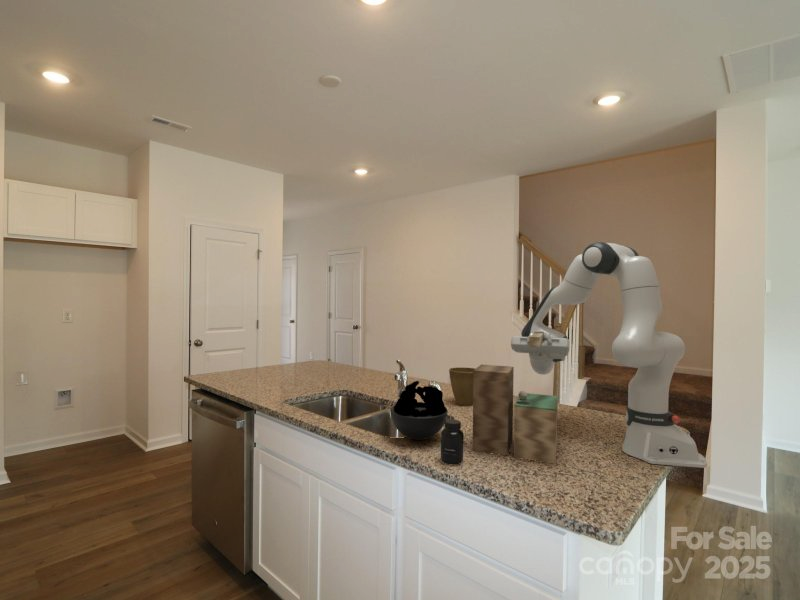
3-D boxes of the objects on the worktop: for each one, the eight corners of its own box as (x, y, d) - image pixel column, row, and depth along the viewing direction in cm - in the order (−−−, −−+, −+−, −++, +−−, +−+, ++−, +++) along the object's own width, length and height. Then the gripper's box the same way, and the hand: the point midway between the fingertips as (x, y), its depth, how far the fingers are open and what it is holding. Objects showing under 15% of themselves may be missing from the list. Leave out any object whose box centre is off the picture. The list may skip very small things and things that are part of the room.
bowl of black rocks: (439, 451, 132) (440, 393, 132) (381, 444, 139) (382, 388, 139) (452, 432, 151) (453, 381, 151) (400, 426, 158) (401, 377, 158)
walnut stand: (512, 442, 141) (513, 366, 141) (507, 456, 129) (508, 373, 129) (480, 438, 145) (481, 364, 145) (472, 451, 133) (473, 370, 133)
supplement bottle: (445, 466, 121) (445, 425, 121) (437, 457, 127) (437, 418, 127) (467, 464, 123) (467, 423, 123) (457, 455, 129) (458, 417, 129)
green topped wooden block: (556, 444, 140) (557, 387, 140) (555, 464, 123) (556, 399, 123) (520, 439, 145) (520, 384, 144) (513, 457, 128) (514, 395, 128)
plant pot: (483, 408, 185) (484, 372, 185) (450, 407, 185) (450, 372, 185) (478, 400, 200) (478, 367, 200) (447, 399, 200) (447, 366, 200)
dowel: (543, 341, 147) (543, 332, 147) (539, 347, 127) (539, 337, 127) (534, 340, 148) (534, 331, 148) (528, 347, 128) (528, 336, 128)
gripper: (512, 342, 162) (508, 326, 151) (569, 345, 154) (569, 328, 143) (511, 357, 159) (507, 342, 148) (569, 361, 151) (569, 345, 140)
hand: (538, 335), depth 145 cm, fingers closed on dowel, 3 cm apart
